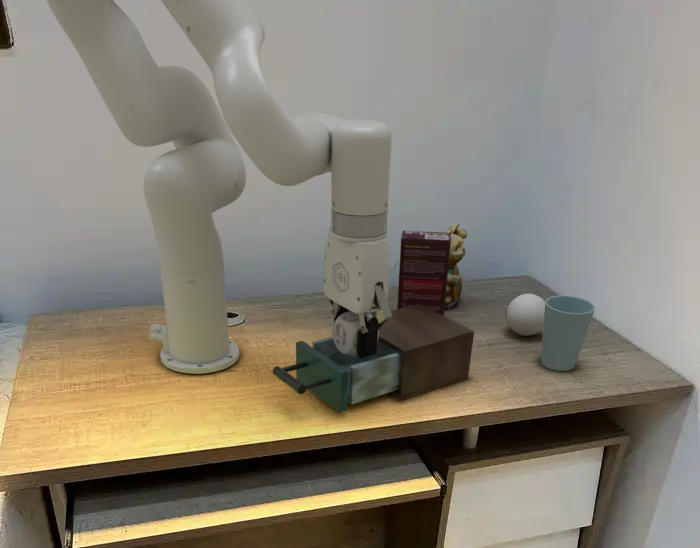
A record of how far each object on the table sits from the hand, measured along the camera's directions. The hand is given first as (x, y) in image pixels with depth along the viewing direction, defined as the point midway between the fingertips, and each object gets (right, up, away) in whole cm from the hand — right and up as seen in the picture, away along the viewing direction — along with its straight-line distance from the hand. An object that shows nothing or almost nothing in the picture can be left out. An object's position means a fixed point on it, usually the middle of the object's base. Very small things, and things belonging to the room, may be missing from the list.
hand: (354, 346), depth 108 cm
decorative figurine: (+17, +14, +35) cm, 42 cm away
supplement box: (+12, +9, +27) cm, 31 cm away
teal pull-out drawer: (-3, -6, +2) cm, 7 cm away
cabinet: (+9, -3, +9) cm, 13 cm away
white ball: (+30, +7, +25) cm, 39 cm away
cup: (+34, -1, +14) cm, 37 cm away
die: (0, 0, 0) cm, 1 cm away
